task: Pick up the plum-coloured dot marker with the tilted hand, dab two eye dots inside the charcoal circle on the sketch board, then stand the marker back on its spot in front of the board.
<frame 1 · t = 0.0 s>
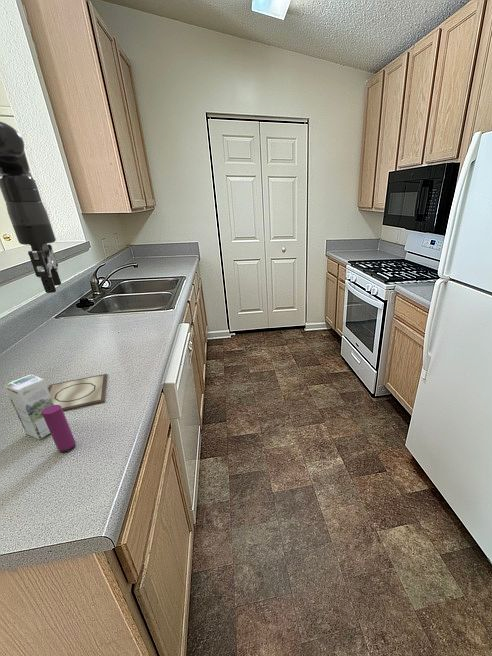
hand: (54, 288, 88), 31 cm above the counter, tool pointing down, fingers open, 8 cm apart
dot marker: (67, 448, 77), on the counter
sketch board: (76, 393, 99), on the counter
syrup box: (45, 431, 83), on the counter
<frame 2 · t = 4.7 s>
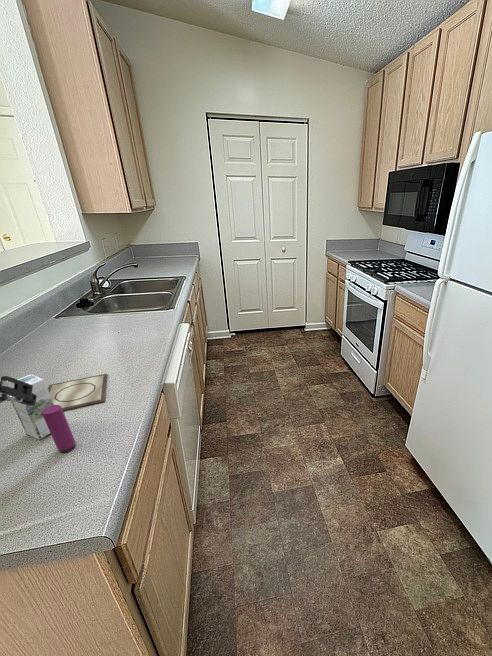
hand: (8, 403, 61), 18 cm above the counter, tool tilted 45°, fingers open, 8 cm apart
nothing on the counter moved.
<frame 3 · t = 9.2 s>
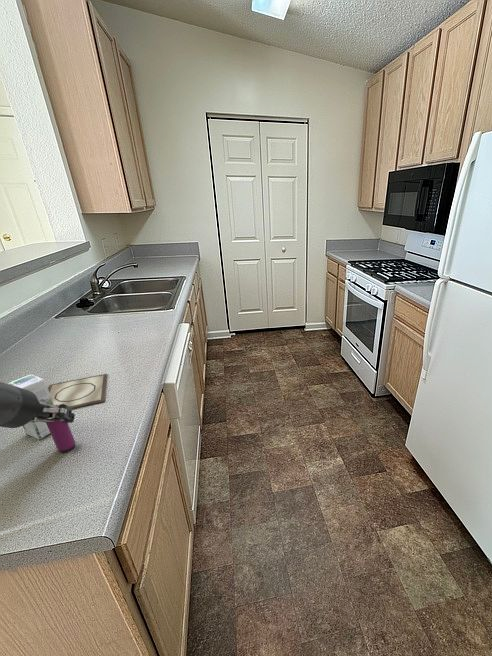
hand: (62, 418, 76), 7 cm above the counter, tool tilted 45°, fingers closed on dot marker, 3 cm apart
dot marker: (67, 448, 77), on the counter, touching gripper
everything else where it was.
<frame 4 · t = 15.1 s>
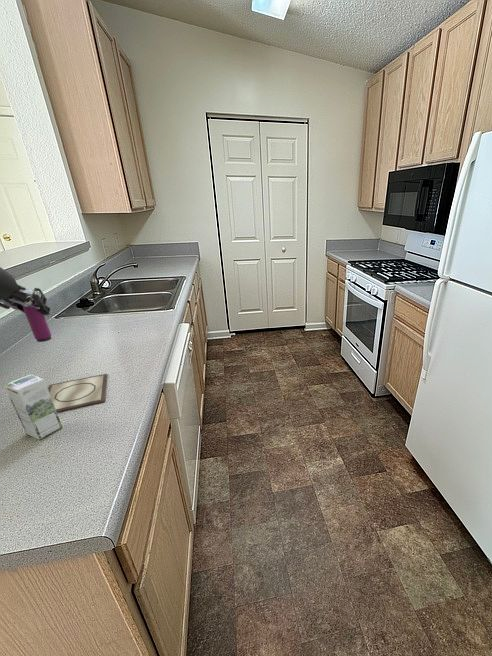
hand: (39, 312, 87), 26 cm above the counter, tool tilted 45°, fingers closed on dot marker, 3 cm apart
dot marker: (44, 339, 88), point 19 cm above the counter, touching gripper
everything else where it was.
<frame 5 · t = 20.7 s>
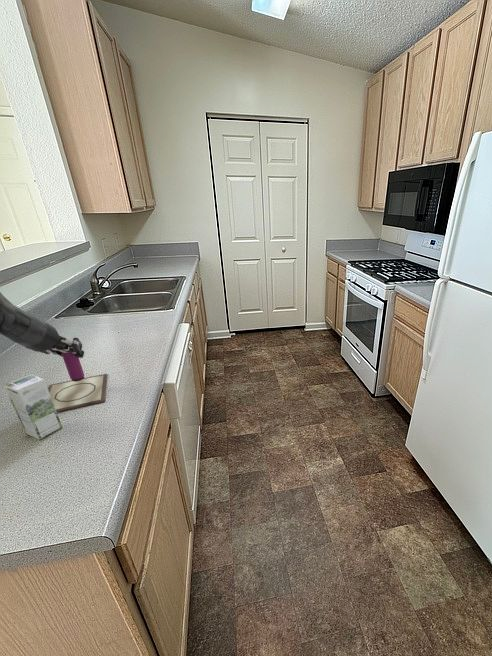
hand: (74, 354, 97), 11 cm above the counter, tool tilted 45°, fingers closed on dot marker, 3 cm apart
dot marker: (78, 379, 99), point 4 cm above the counter, touching gripper
everything else where it was.
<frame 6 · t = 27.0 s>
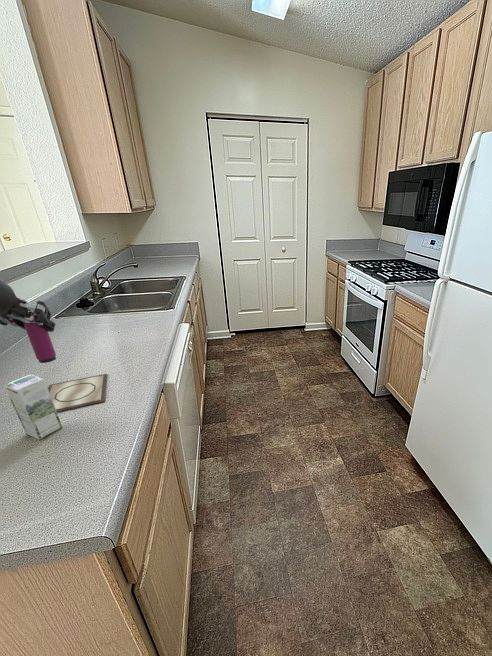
hand: (42, 328, 75), 26 cm above the counter, tool tilted 45°, fingers closed on dot marker, 3 cm apart
dot marker: (47, 360, 76), point 19 cm above the counter, touching gripper
everything else where it was.
when the fingers open (7 cm above the counter, at t = 32.5 s): dot marker stays where it is, on the counter.
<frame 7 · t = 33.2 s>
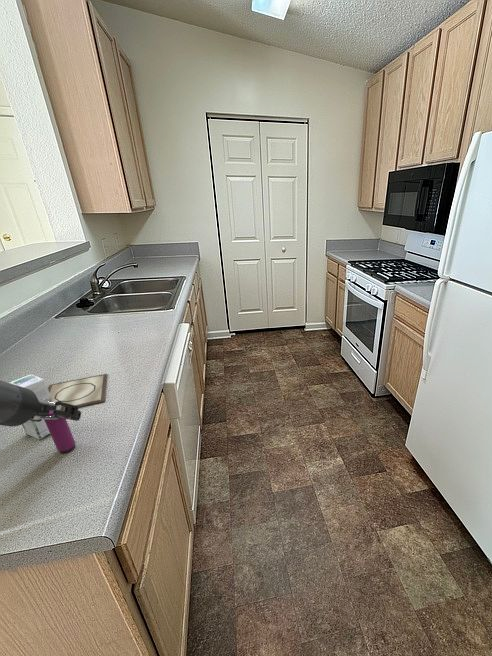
hand: (59, 416, 75), 8 cm above the counter, tool tilted 45°, fingers open, 8 cm apart
dot marker: (67, 448, 77), on the counter
everything else where it was.
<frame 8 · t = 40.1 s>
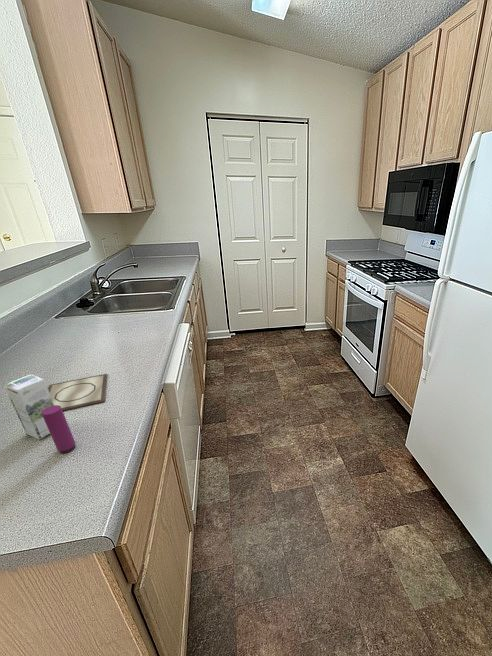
nothing on the counter moved.
at the end: dot marker 0.3 cm from the target spot on the counter beside the sketch board, on the counter; dot marker tilted 0°; the gripper is holding nothing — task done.
